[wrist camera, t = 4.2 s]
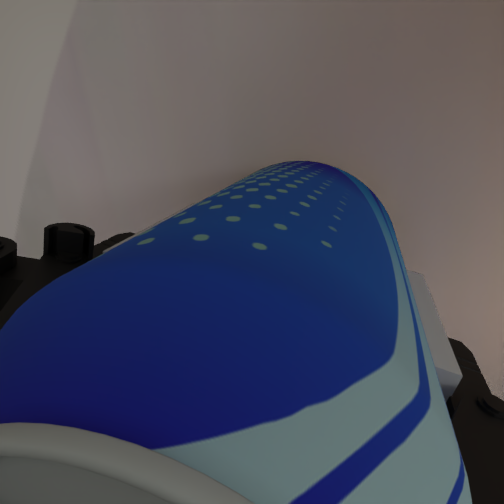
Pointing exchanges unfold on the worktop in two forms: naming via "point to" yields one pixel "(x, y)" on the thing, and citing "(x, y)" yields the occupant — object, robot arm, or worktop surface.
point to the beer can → (232, 362)
